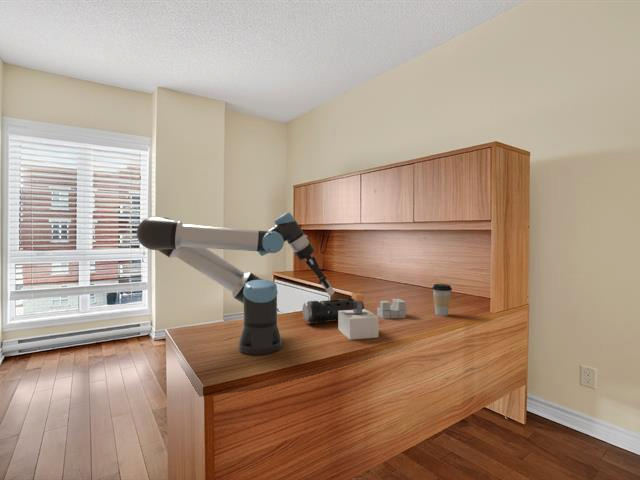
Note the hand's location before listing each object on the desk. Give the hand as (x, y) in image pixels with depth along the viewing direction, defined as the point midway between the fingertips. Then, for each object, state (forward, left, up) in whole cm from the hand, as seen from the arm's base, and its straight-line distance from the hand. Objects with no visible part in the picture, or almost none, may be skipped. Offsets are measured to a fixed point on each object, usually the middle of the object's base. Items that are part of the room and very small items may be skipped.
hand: (329, 289), depth 137 cm
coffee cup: (+63, +12, -18) cm, 67 cm away
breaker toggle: (+10, -6, -9) cm, 15 cm away
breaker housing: (+10, -6, -17) cm, 21 cm away
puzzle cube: (+37, +18, -18) cm, 45 cm away
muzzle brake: (+6, +14, -18) cm, 23 cm away
